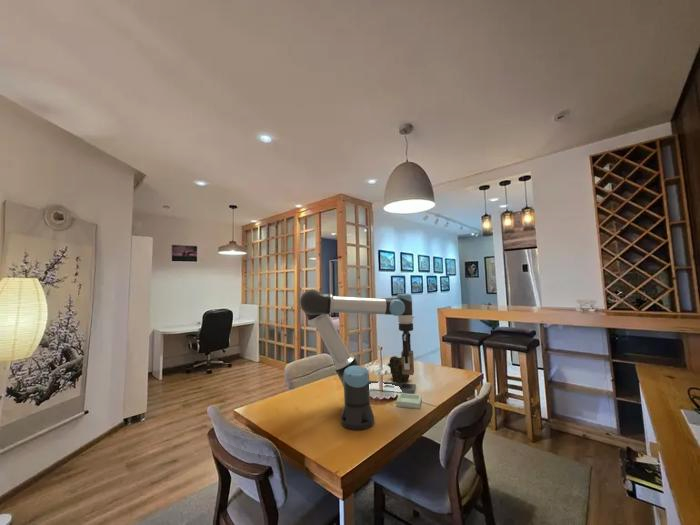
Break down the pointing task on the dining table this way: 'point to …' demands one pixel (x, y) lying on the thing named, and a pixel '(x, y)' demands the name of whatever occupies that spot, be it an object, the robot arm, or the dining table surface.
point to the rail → (401, 386)
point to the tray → (409, 401)
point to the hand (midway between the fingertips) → (407, 367)
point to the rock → (397, 370)
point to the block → (411, 361)
